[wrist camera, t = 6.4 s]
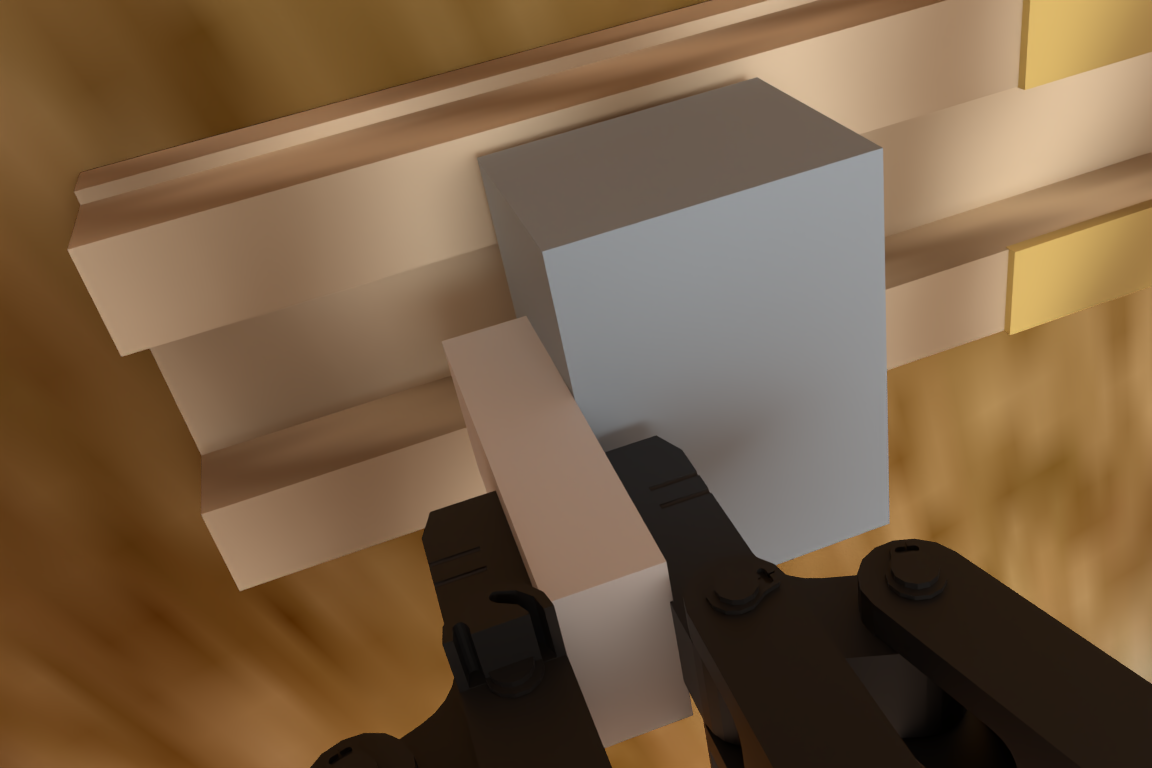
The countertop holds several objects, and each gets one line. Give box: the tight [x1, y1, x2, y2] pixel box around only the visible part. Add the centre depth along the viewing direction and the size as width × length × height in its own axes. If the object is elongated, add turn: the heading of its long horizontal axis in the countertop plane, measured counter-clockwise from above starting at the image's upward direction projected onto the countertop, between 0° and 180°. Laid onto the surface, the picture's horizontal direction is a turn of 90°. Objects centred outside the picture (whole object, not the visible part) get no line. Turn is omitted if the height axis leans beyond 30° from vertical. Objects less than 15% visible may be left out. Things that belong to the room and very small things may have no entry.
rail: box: [67, 0, 1152, 591], centre depth 21 cm, size 30×8×4 cm, turn 101°
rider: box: [477, 77, 889, 565], centre depth 18 cm, size 5×7×6 cm
